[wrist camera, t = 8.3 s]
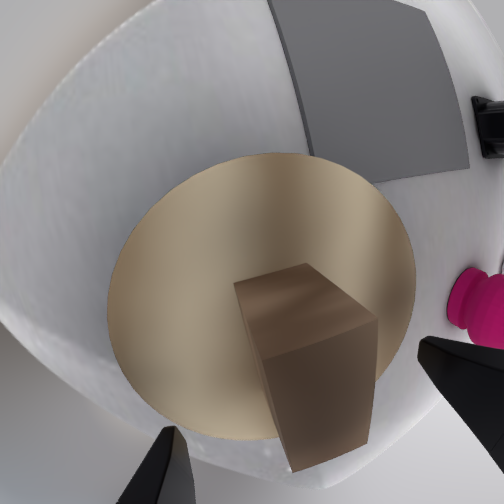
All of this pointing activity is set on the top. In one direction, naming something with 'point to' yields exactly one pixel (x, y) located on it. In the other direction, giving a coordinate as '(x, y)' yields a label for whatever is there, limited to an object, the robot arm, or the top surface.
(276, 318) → the lid
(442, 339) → the robot arm
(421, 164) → the mat
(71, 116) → the top surface
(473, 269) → the pepper mill
